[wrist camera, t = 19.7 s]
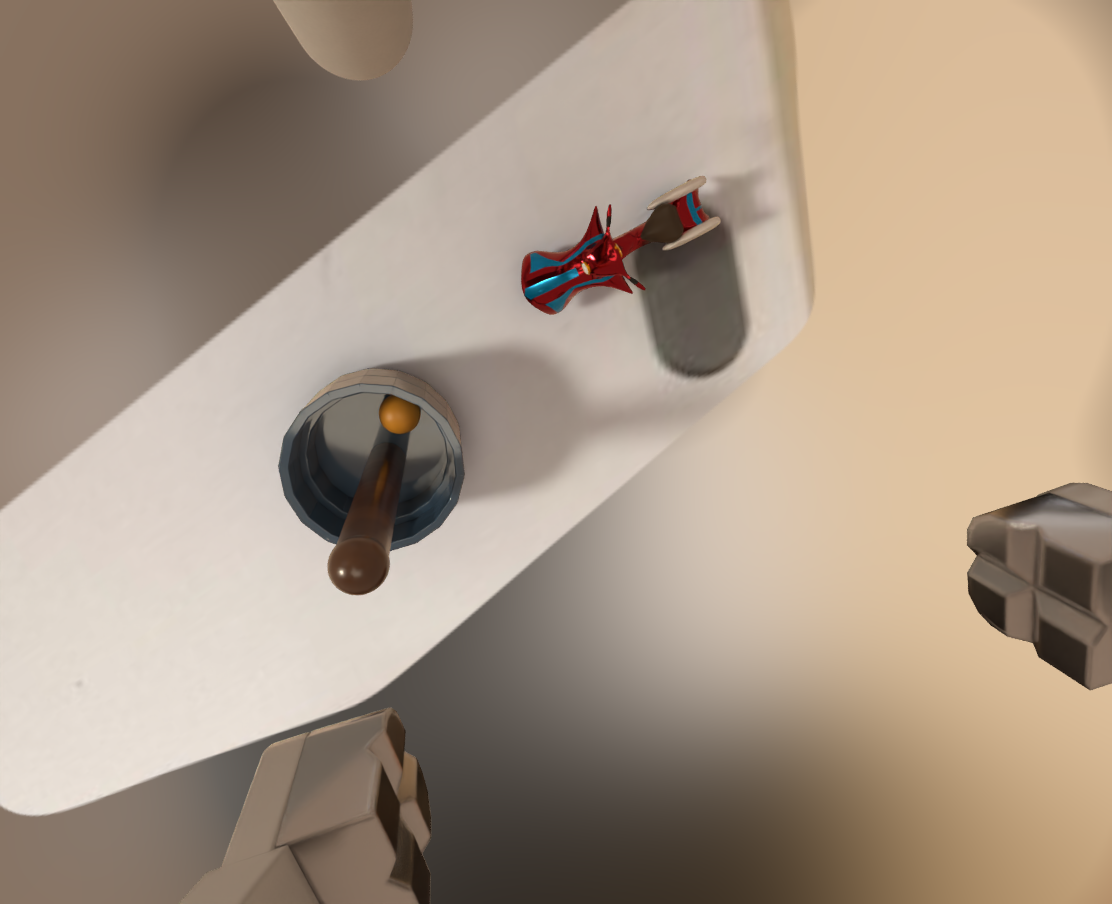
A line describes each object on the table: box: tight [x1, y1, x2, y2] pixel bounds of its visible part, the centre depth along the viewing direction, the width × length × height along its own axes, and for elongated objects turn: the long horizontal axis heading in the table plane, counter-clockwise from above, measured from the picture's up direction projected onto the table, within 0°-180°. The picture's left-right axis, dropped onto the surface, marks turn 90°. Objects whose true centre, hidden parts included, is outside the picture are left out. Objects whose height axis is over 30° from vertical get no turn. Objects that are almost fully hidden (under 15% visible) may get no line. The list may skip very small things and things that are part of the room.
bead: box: [379, 395, 421, 434], centre depth 36 cm, size 2×2×2 cm
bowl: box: [278, 368, 465, 551], centre depth 35 cm, size 10×10×6 cm
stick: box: [327, 443, 405, 595], centre depth 30 cm, size 2×2×15 cm
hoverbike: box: [521, 176, 721, 315], centre depth 34 cm, size 5×12×6 cm, turn 116°
